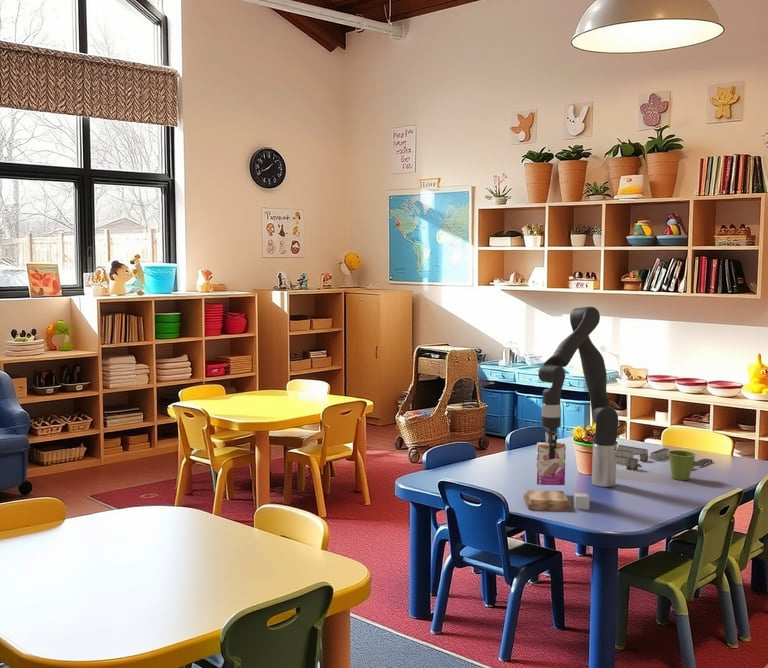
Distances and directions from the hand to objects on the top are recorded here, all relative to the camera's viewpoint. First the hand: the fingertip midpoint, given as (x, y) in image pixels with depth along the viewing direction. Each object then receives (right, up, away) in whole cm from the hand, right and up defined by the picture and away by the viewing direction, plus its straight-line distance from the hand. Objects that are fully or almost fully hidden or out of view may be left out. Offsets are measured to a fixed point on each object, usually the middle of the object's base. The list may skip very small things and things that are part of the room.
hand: (550, 456), depth 354 cm
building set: (+57, -11, +61) cm, 84 cm away
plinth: (-4, -16, -14) cm, 22 cm away
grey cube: (+8, -17, -18) cm, 26 cm away
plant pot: (+62, -14, +29) cm, 70 cm away
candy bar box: (0, -11, +1) cm, 11 cm away
